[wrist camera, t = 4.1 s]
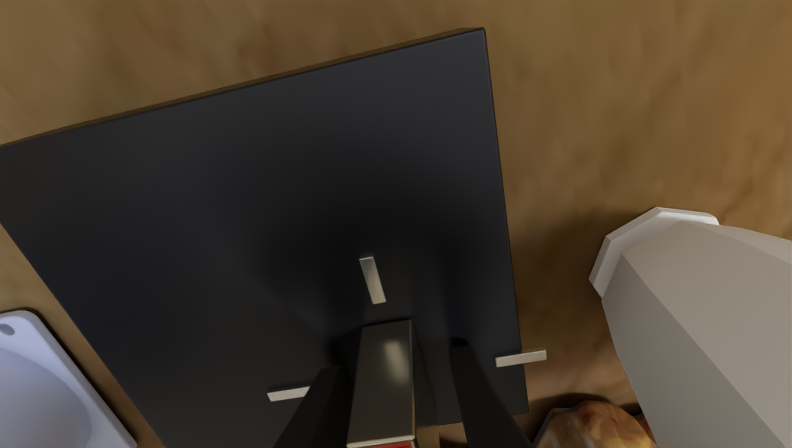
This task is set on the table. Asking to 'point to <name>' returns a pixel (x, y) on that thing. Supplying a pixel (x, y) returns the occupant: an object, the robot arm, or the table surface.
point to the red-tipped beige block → (391, 391)
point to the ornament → (594, 428)
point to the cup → (702, 327)
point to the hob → (279, 235)
